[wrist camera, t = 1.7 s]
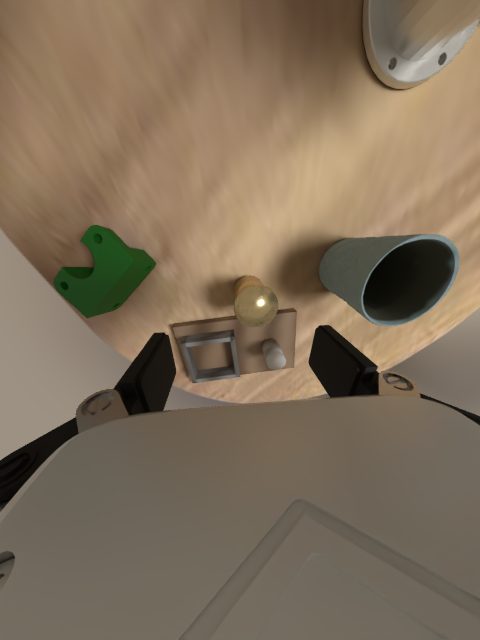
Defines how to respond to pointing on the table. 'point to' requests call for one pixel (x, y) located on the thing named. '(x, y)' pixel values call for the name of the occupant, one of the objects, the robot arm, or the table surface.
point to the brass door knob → (254, 302)
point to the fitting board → (236, 346)
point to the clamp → (104, 274)
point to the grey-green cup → (391, 275)
